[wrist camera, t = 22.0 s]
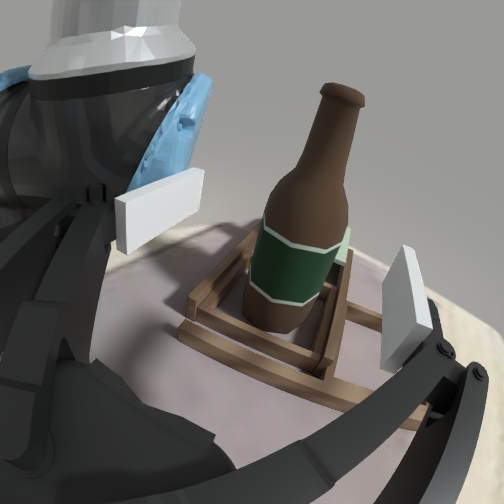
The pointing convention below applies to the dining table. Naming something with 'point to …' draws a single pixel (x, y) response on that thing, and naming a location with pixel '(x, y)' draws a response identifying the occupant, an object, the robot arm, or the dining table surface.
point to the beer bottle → (304, 220)
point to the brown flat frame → (266, 370)
